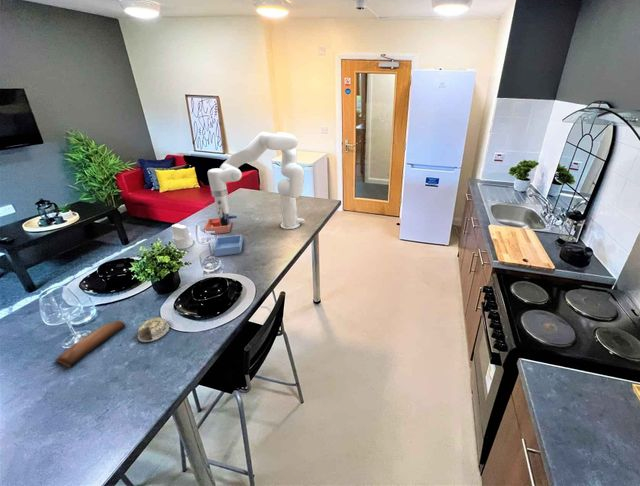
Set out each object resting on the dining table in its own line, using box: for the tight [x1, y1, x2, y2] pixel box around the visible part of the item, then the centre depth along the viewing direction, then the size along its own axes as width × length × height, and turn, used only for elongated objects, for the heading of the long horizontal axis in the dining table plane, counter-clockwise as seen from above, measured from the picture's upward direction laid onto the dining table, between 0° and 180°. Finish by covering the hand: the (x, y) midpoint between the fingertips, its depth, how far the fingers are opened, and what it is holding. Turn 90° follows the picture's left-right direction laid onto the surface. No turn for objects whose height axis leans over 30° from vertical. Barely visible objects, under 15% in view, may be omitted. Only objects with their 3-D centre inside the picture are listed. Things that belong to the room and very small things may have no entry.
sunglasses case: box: [55, 320, 126, 368], centre depth 103 cm, size 18×7×7 cm
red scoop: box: [212, 220, 221, 227], centre depth 183 cm, size 9×5×5 cm, turn 107°
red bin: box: [203, 217, 232, 235], centre depth 183 cm, size 13×13×4 cm
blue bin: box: [212, 234, 244, 257], centre depth 162 cm, size 13×13×4 cm
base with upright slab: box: [171, 223, 194, 250], centre depth 163 cm, size 9×9×12 cm
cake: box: [137, 317, 171, 343], centre depth 108 cm, size 10×10×5 cm
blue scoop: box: [218, 213, 238, 225], centre depth 158 cm, size 9×5×5 cm, turn 107°
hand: (225, 223), depth 158 cm, fingers closed on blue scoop, 4 cm apart
